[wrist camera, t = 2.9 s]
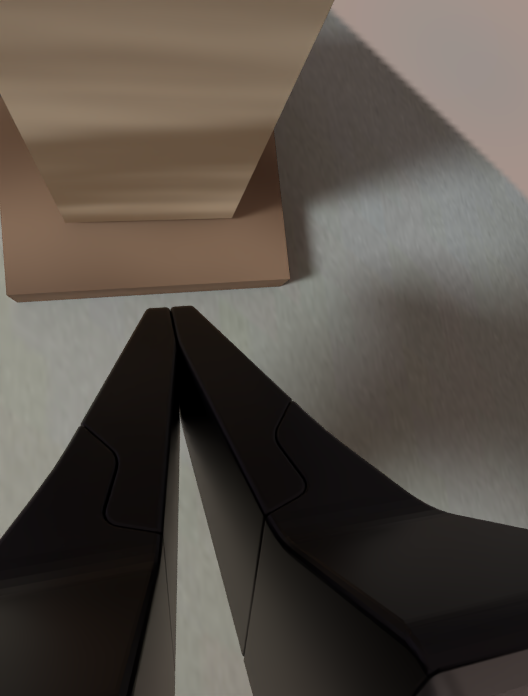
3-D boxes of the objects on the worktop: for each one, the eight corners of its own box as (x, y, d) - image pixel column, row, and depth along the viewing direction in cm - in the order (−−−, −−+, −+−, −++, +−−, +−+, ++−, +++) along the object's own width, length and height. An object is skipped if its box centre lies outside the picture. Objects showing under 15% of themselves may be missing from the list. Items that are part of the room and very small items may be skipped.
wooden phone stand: (280, 286, 18) (450, 149, 8) (17, 302, 16) (-216, 145, 6) (257, 70, 18) (387, -323, 8) (-1, 58, 16) (-245, -479, 6)
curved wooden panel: (231, 218, 16) (403, -147, 5) (65, 222, 15) (-167, -235, 4) (220, 112, 16) (362, -449, 5) (55, 108, 15) (-187, -621, 4)
